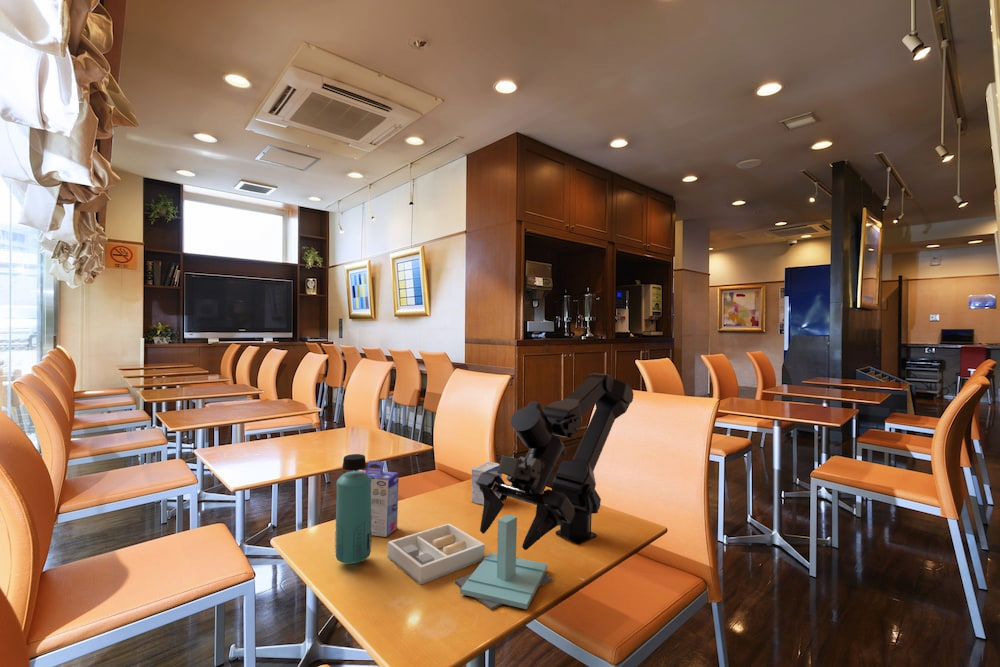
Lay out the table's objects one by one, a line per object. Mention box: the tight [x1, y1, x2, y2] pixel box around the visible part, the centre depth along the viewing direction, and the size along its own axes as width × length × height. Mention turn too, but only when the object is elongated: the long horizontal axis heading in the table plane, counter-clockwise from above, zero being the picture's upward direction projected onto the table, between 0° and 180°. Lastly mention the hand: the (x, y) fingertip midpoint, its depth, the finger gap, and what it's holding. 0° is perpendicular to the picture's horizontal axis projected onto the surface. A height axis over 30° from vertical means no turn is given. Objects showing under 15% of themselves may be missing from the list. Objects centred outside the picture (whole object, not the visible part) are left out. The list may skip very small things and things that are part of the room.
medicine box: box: [470, 461, 503, 506], centre depth 120 cm, size 8×4×9 cm, turn 147°
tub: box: [387, 522, 486, 586], centre depth 88 cm, size 14×12×3 cm
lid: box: [459, 514, 548, 610], centre depth 81 cm, size 13×11×11 cm
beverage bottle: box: [334, 453, 373, 564], centre depth 86 cm, size 6×7×20 cm
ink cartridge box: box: [357, 460, 399, 538], centre depth 100 cm, size 10×6×14 cm, turn 78°
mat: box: [454, 556, 554, 611], centre depth 81 cm, size 14×10×1 cm
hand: (502, 540), depth 80 cm, fingers open, 9 cm apart
